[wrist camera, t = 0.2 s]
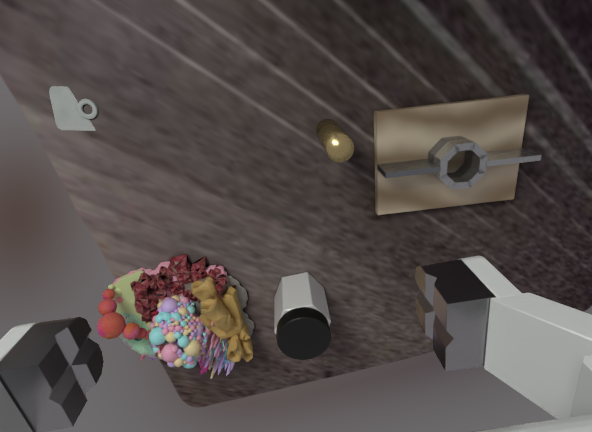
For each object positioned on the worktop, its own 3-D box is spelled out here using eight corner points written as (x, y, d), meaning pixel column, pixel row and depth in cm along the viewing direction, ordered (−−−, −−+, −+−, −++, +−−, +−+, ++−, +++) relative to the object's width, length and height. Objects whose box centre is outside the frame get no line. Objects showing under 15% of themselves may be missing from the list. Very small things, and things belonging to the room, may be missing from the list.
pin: (315, 120, 54) (326, 137, 43) (337, 118, 54) (353, 134, 43) (317, 142, 55) (328, 163, 44) (338, 139, 55) (354, 160, 44)
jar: (264, 290, 65) (263, 337, 54) (299, 262, 63) (304, 306, 52) (298, 319, 68) (302, 370, 57) (332, 294, 66) (343, 341, 55)
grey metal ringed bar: (376, 145, 54) (385, 152, 50) (524, 128, 54) (544, 134, 50) (377, 187, 57) (385, 197, 53) (518, 171, 57) (537, 179, 53)
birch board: (373, 111, 54) (376, 112, 52) (522, 94, 54) (529, 95, 52) (375, 211, 60) (378, 215, 59) (508, 195, 60) (514, 199, 59)
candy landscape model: (214, 233, 60) (204, 262, 52) (275, 334, 70) (275, 373, 61) (85, 289, 63) (56, 325, 55) (160, 379, 72) (145, 422, 64)
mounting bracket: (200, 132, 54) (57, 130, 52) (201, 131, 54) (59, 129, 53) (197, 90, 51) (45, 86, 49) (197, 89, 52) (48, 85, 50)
